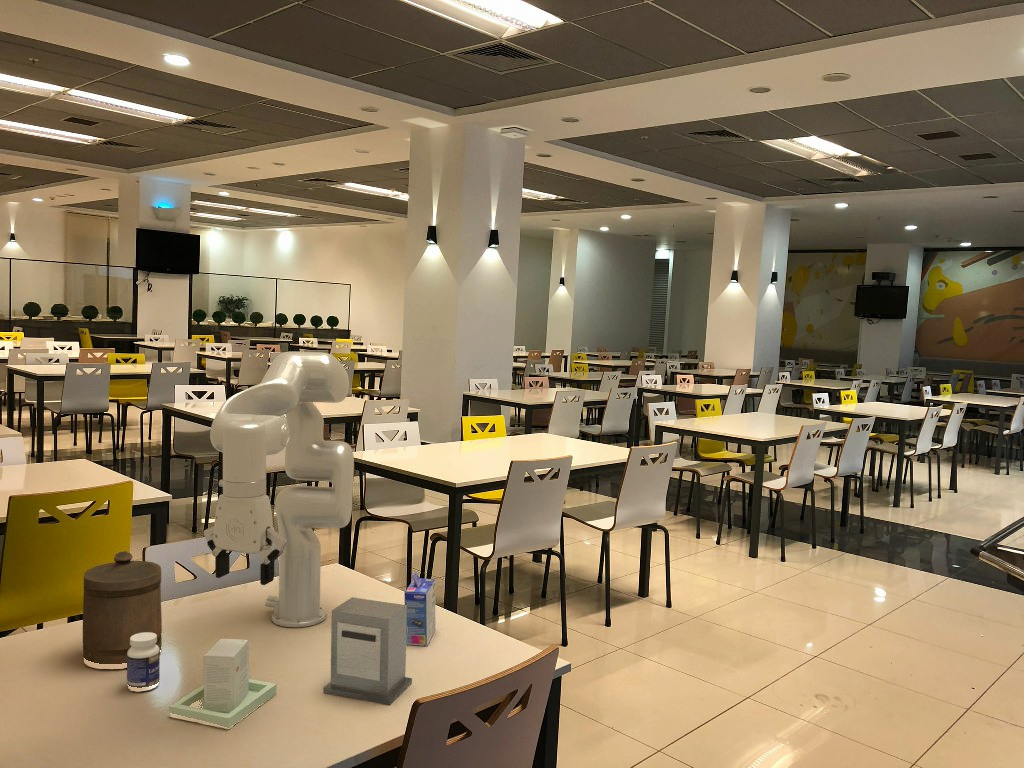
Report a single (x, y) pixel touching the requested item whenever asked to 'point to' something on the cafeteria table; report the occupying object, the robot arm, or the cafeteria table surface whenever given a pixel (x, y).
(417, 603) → the ink cartridge box
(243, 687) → the small box
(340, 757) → the cafeteria table surface
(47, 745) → the cafeteria table surface
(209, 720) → the tray
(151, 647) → the pill bottle
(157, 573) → the wooden container
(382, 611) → the dispenser unit
